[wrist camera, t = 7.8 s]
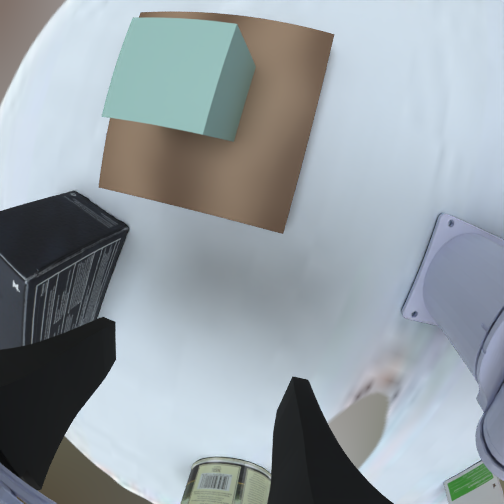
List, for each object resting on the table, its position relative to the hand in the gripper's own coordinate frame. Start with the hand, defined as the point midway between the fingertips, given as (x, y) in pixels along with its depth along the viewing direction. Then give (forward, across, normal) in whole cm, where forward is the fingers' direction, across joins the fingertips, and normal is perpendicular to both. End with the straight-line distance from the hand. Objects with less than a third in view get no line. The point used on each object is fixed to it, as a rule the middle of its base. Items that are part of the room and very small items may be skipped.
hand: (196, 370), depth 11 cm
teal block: (+8, +4, -11) cm, 14 cm away
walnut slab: (+10, +4, -10) cm, 15 cm away
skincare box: (+11, -41, +24) cm, 49 cm away
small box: (+11, +13, +3) cm, 17 cm away
